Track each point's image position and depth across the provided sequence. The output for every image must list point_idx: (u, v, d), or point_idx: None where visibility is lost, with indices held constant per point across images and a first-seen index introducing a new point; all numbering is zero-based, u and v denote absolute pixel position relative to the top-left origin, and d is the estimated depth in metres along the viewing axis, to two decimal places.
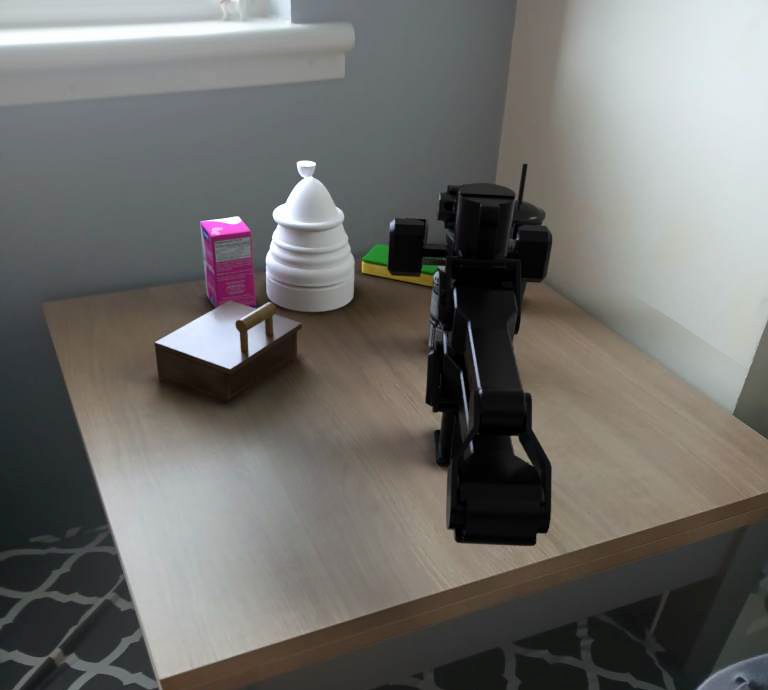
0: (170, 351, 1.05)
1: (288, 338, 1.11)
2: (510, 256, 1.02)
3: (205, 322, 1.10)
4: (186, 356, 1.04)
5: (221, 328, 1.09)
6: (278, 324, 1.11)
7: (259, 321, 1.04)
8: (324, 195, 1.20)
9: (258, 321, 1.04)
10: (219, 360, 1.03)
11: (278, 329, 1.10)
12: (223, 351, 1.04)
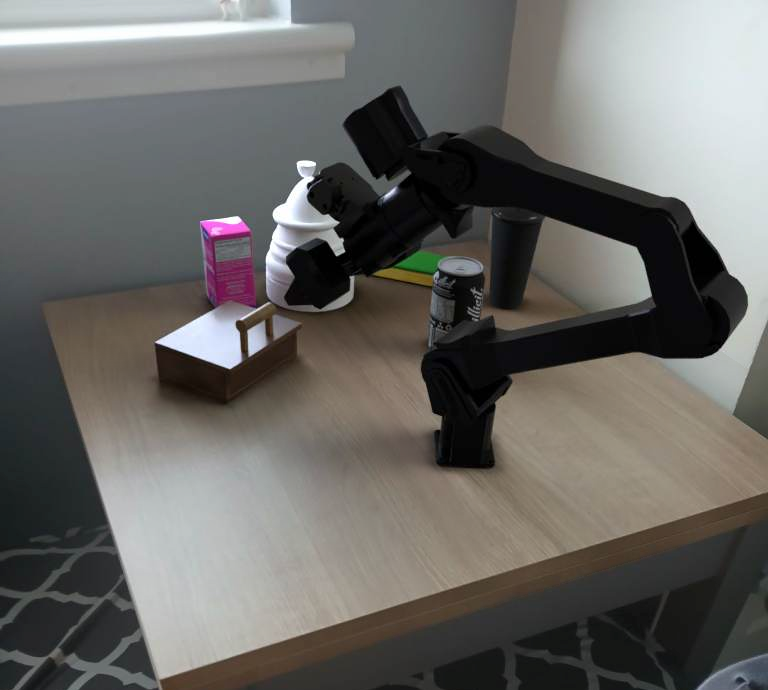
0: (170, 351, 1.05)
1: (288, 338, 1.11)
2: None
3: (205, 322, 1.10)
4: (186, 356, 1.04)
5: (221, 328, 1.09)
6: (278, 324, 1.11)
7: (259, 321, 1.04)
8: None
9: (258, 321, 1.04)
10: (219, 360, 1.03)
11: (278, 329, 1.10)
12: (223, 351, 1.04)
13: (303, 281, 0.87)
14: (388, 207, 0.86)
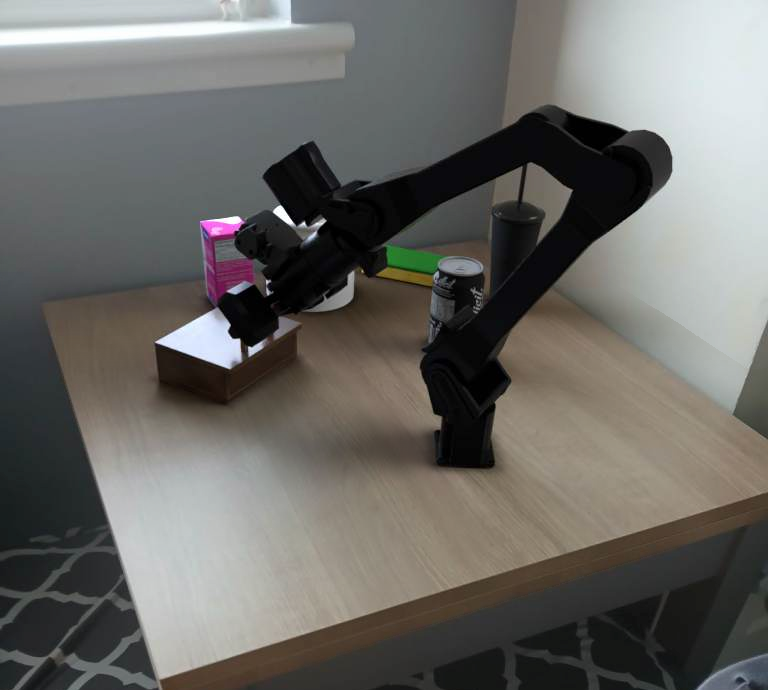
0: (170, 351, 1.05)
1: (288, 338, 1.11)
2: None
3: (205, 322, 1.10)
4: (186, 356, 1.04)
5: (221, 328, 1.09)
6: None
7: None
8: None
9: None
10: (219, 360, 1.03)
11: (278, 329, 1.10)
12: (223, 351, 1.04)
13: (234, 322, 0.94)
14: (309, 251, 0.93)
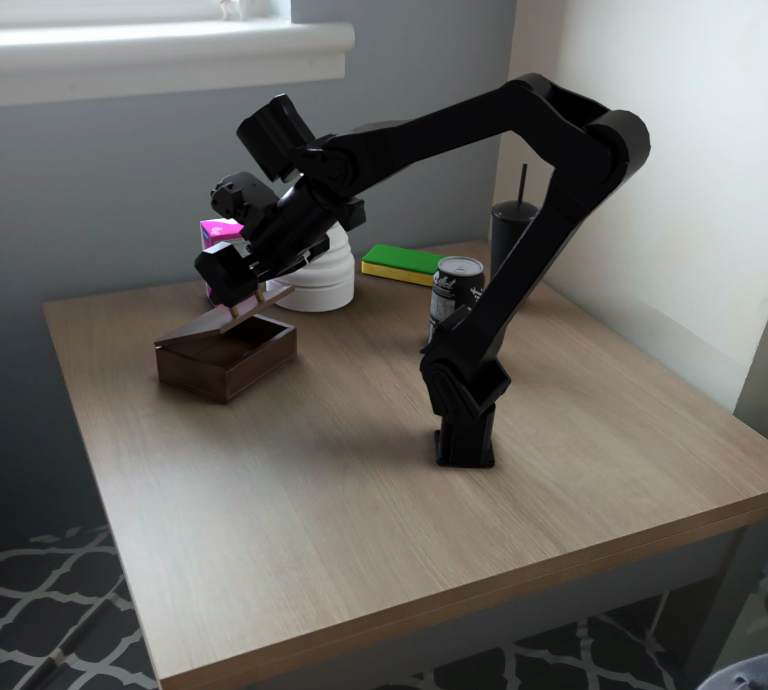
0: (168, 343, 1.04)
1: (288, 338, 1.11)
2: None
3: (203, 317, 1.10)
4: (181, 339, 1.03)
5: (217, 314, 1.08)
6: (271, 293, 1.09)
7: None
8: None
9: None
10: (210, 328, 1.01)
11: (270, 295, 1.07)
12: (215, 323, 1.03)
13: (212, 282, 0.93)
14: (285, 207, 0.91)
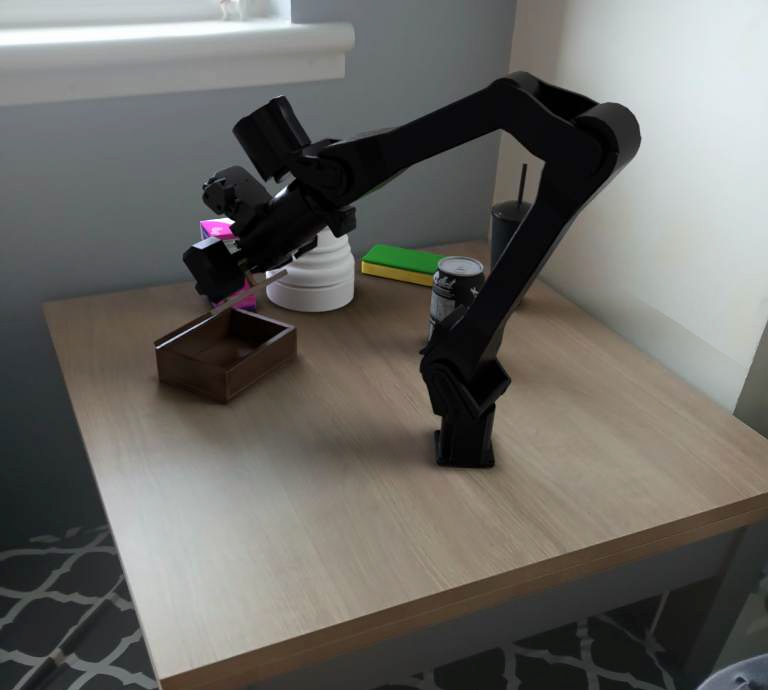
0: (166, 339, 1.04)
1: (288, 338, 1.11)
2: None
3: None
4: (178, 331, 1.02)
5: None
6: None
7: None
8: None
9: None
10: None
11: None
12: None
13: (199, 277, 0.93)
14: (277, 208, 0.92)
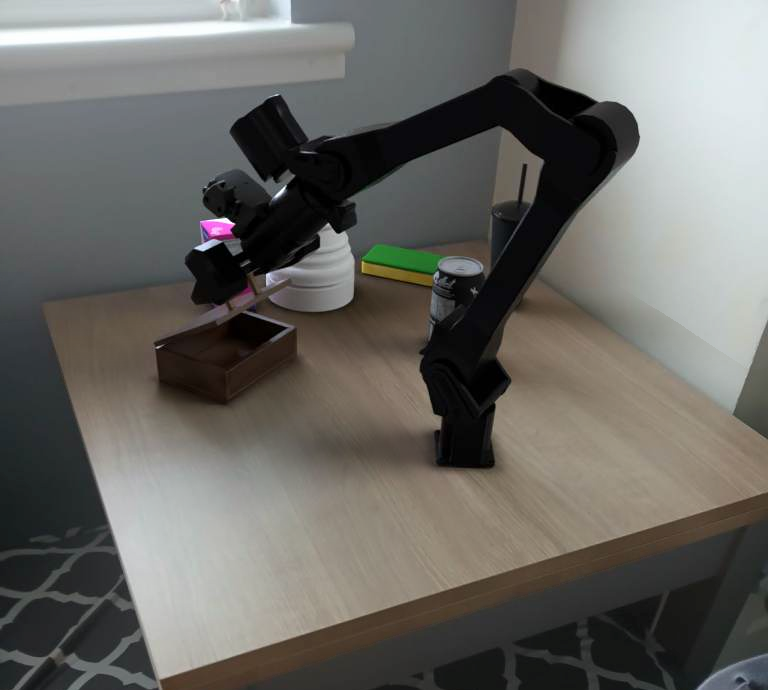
0: (167, 341, 1.04)
1: (288, 338, 1.11)
2: None
3: (202, 316, 1.10)
4: (180, 335, 1.02)
5: (215, 311, 1.08)
6: (268, 287, 1.08)
7: None
8: None
9: None
10: (207, 321, 1.00)
11: (267, 288, 1.07)
12: (212, 317, 1.02)
13: (202, 280, 0.93)
14: (277, 207, 0.92)
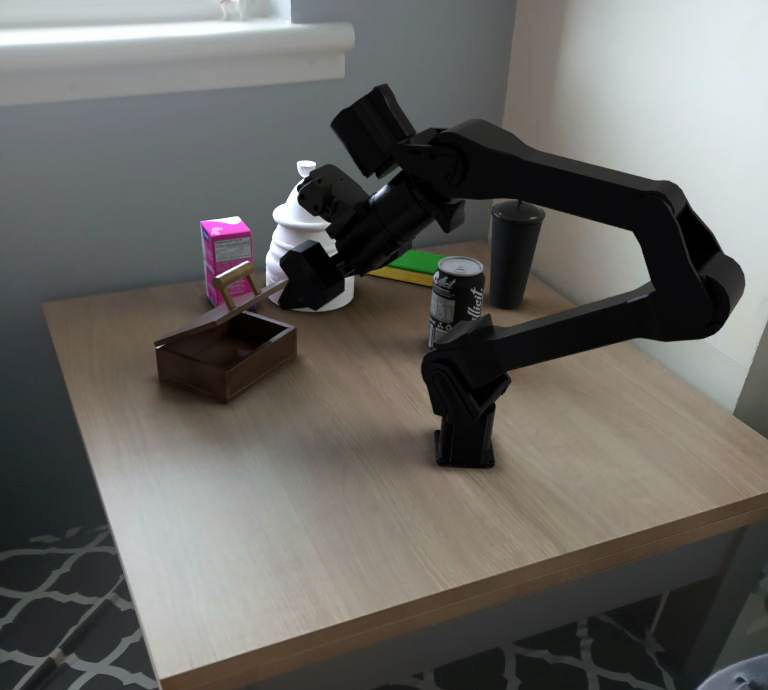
0: (167, 341, 1.04)
1: (288, 338, 1.11)
2: None
3: (202, 316, 1.10)
4: (180, 335, 1.02)
5: (215, 311, 1.08)
6: (268, 287, 1.08)
7: (236, 276, 1.02)
8: None
9: (234, 276, 1.02)
10: (207, 321, 1.00)
11: (267, 288, 1.07)
12: (212, 317, 1.02)
13: (298, 283, 0.87)
14: (380, 205, 0.86)
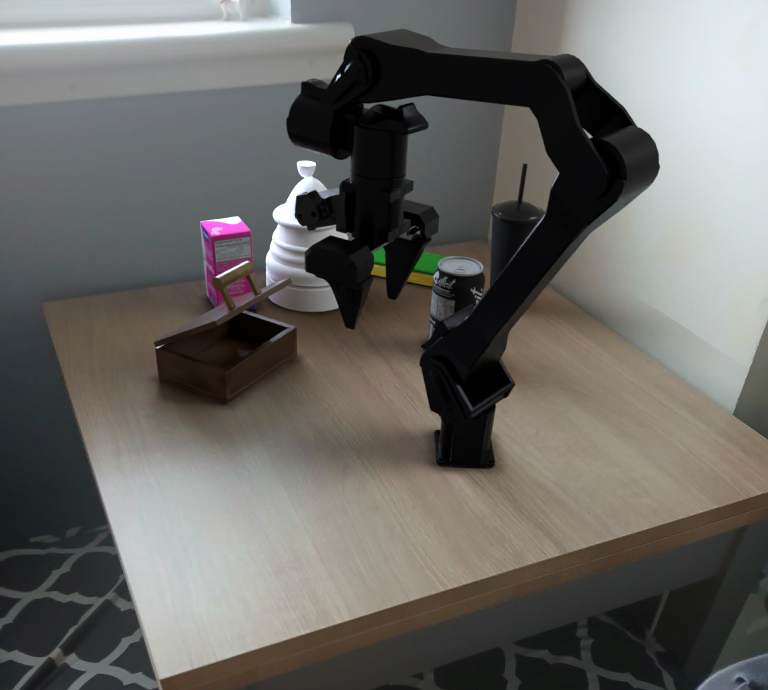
0: (167, 341, 1.04)
1: (288, 338, 1.11)
2: None
3: (202, 316, 1.10)
4: (180, 335, 1.02)
5: (215, 311, 1.08)
6: (268, 287, 1.08)
7: (236, 276, 1.02)
8: None
9: (234, 276, 1.02)
10: (207, 321, 1.00)
11: (267, 288, 1.07)
12: (212, 317, 1.02)
13: (326, 271, 0.87)
14: (352, 164, 0.88)
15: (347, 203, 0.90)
